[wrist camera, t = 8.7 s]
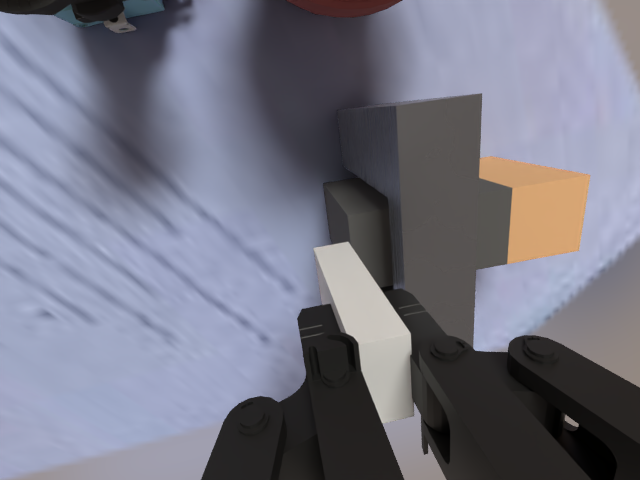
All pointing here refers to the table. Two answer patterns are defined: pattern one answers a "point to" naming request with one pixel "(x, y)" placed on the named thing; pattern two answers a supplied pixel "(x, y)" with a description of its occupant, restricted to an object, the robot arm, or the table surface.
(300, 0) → the mechanical component
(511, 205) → the grey and orange block
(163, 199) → the table surface
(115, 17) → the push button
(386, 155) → the grey piece
